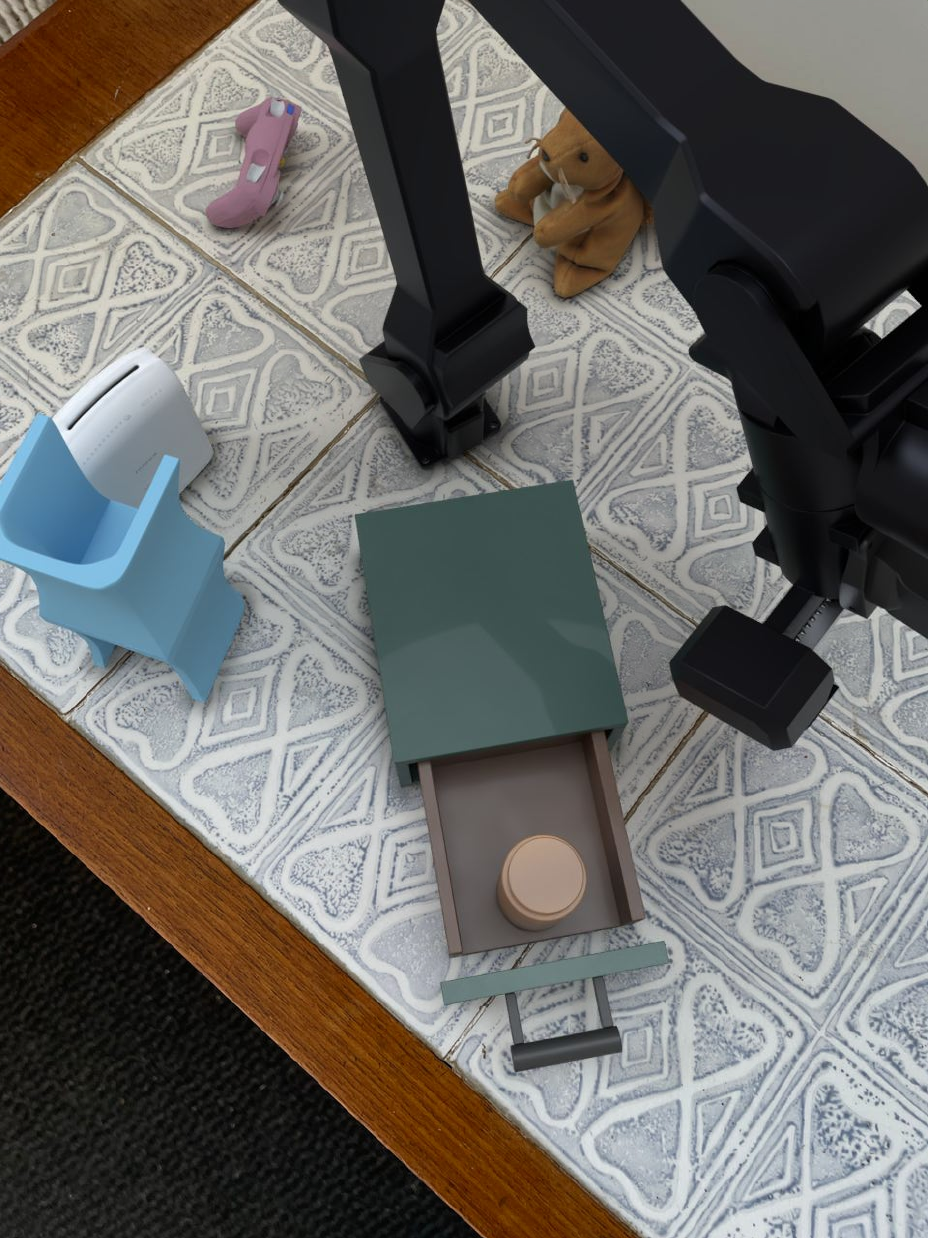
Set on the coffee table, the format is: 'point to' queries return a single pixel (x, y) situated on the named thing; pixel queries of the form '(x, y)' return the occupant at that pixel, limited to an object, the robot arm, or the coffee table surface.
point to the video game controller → (258, 163)
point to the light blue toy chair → (118, 562)
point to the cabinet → (487, 624)
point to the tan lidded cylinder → (541, 882)
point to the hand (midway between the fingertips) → (859, 646)
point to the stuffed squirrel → (576, 205)
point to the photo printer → (133, 427)
